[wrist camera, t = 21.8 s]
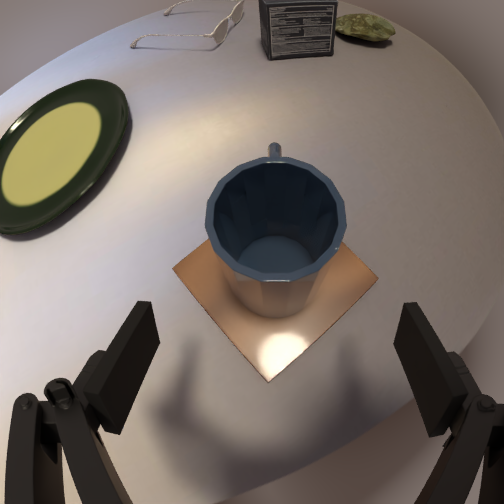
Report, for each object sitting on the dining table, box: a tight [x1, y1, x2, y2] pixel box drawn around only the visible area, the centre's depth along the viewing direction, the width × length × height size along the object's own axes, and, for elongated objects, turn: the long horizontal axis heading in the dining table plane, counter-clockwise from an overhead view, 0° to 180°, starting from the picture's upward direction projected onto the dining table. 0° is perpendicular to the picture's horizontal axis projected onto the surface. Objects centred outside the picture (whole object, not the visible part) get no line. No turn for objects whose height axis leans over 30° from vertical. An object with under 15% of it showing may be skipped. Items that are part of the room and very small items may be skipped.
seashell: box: [335, 14, 395, 42], centre depth 44 cm, size 10×7×10 cm
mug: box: [205, 142, 347, 319], centre depth 25 cm, size 11×8×12 cm
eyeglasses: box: [130, 0, 244, 48], centre depth 47 cm, size 15×18×4 cm
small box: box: [259, 0, 338, 60], centre depth 39 cm, size 11×6×10 cm, turn 100°
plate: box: [0, 79, 129, 235], centre depth 38 cm, size 28×28×2 cm
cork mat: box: [172, 239, 379, 383], centre depth 30 cm, size 14×14×1 cm
